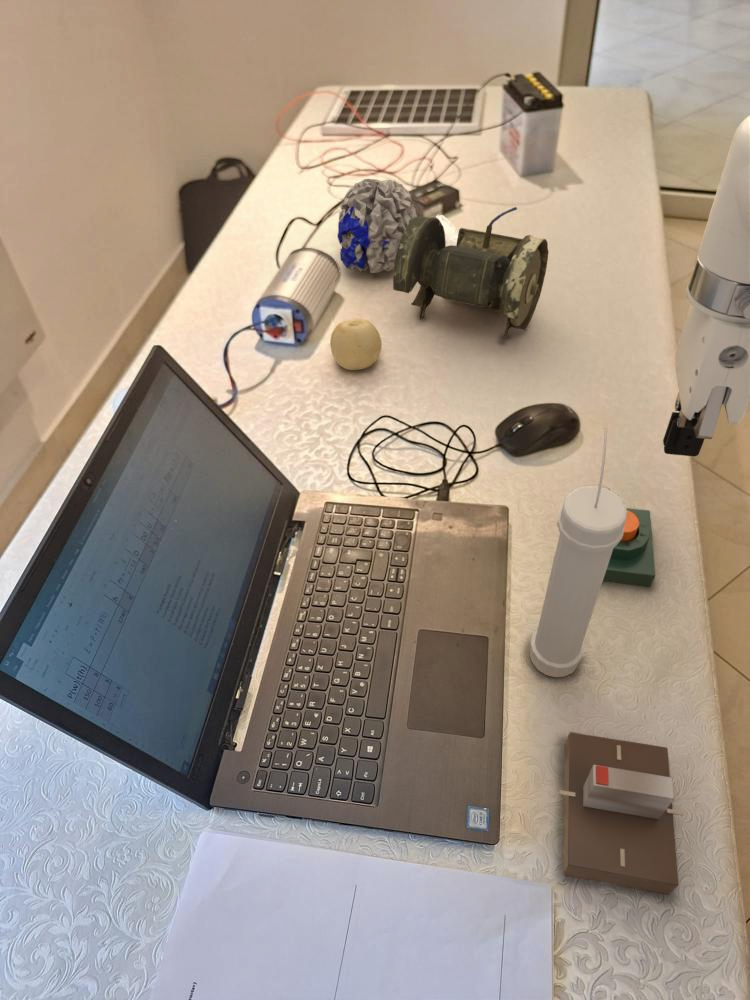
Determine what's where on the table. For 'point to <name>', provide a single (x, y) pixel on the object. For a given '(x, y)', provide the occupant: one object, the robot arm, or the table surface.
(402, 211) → the educational model
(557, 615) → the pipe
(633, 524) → the button
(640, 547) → the button box
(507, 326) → the bench grinder
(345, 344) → the apple
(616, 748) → the panel
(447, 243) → the bird figurine
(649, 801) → the rod knob
